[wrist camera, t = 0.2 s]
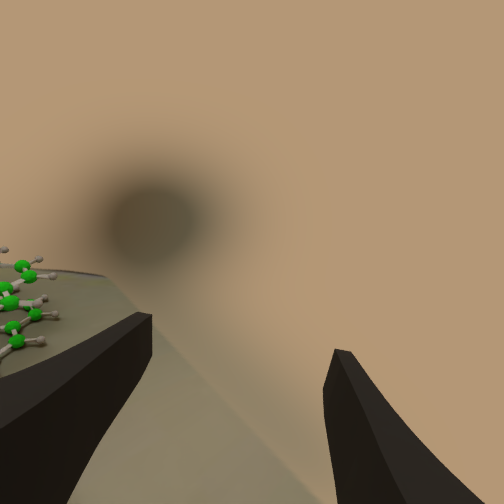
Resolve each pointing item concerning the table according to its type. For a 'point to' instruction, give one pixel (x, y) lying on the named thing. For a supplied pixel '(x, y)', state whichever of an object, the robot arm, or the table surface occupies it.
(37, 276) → the molecule models
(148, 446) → the table surface
